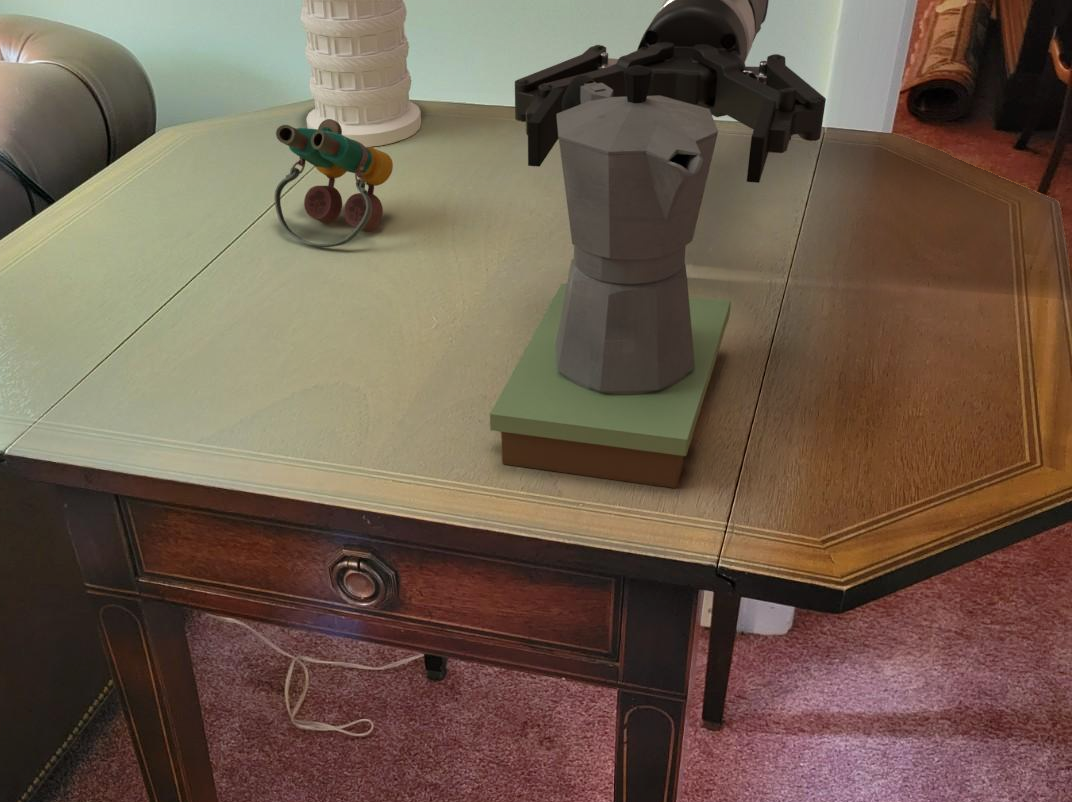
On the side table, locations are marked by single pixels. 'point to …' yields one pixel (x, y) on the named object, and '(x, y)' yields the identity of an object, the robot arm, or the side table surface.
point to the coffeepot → (629, 233)
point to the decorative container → (360, 69)
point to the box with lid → (604, 410)
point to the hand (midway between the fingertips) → (641, 152)
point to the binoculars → (335, 176)
